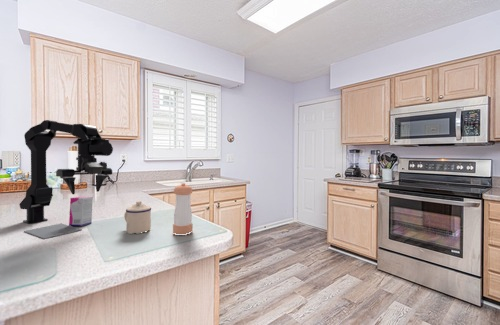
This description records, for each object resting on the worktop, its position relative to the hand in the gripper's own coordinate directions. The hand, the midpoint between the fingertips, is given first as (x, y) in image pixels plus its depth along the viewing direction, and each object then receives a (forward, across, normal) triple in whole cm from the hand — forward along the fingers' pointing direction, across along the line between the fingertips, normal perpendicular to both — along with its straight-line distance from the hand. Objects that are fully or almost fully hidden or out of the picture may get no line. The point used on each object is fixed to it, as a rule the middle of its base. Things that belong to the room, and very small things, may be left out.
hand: (86, 192), depth 98 cm
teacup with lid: (+14, +8, -22) cm, 27 cm away
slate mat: (+14, -10, +3) cm, 17 cm away
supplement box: (+14, 0, +3) cm, 14 cm away
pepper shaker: (+14, +15, -40) cm, 45 cm away
